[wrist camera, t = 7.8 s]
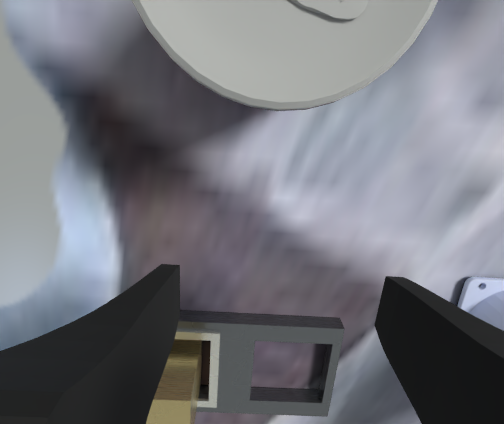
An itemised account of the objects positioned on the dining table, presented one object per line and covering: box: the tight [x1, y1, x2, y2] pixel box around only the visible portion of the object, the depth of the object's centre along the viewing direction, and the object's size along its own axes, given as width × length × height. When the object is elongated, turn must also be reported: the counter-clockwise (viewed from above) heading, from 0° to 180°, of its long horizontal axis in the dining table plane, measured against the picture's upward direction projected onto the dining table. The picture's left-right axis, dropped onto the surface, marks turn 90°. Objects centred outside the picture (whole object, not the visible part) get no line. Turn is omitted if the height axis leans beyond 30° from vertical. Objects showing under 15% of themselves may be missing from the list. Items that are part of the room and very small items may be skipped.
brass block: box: [146, 339, 202, 424], centre depth 22 cm, size 4×4×6 cm
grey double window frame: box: [175, 310, 344, 416], centre depth 24 cm, size 15×8×1 cm, turn 86°
